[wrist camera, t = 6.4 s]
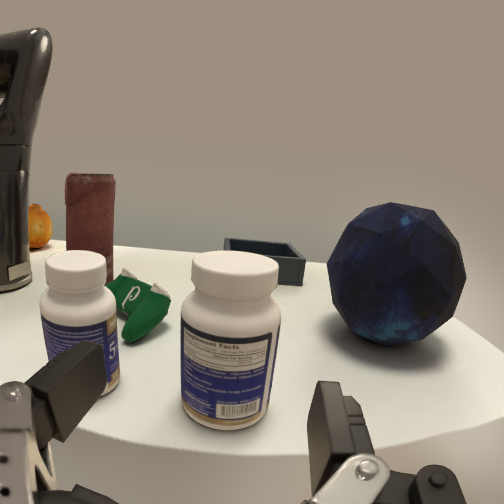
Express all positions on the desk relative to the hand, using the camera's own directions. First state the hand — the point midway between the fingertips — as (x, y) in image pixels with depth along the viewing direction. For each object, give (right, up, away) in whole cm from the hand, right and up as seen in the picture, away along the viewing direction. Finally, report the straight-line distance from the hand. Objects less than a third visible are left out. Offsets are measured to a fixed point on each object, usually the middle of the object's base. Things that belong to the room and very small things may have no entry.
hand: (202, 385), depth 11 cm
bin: (+3, +2, +41) cm, 41 cm away
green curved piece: (-10, -2, +19) cm, 22 cm away
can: (-19, 0, +26) cm, 32 cm away
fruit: (-40, +6, +36) cm, 54 cm away
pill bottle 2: (0, -6, +9) cm, 10 cm away
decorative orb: (+16, -5, +21) cm, 27 cm away
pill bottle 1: (-10, -4, +9) cm, 14 cm away
